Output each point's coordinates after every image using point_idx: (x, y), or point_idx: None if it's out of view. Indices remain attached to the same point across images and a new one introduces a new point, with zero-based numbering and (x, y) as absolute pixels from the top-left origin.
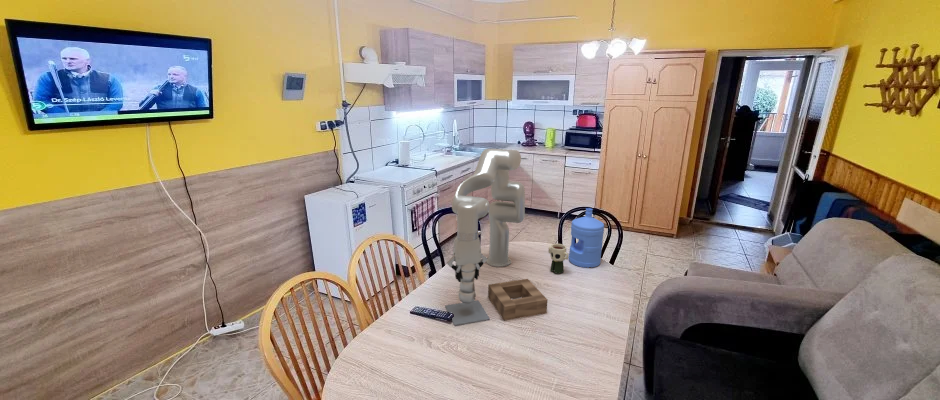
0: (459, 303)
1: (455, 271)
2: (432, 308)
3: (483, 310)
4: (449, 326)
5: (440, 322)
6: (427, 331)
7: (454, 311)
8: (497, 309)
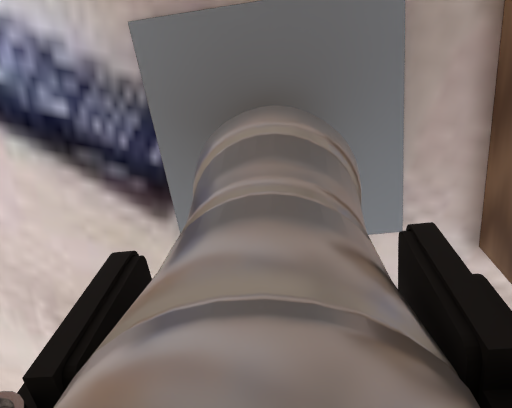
0: (240, 9)
1: (19, 392)
2: (39, 29)
3: (394, 138)
4: (159, 243)
5: (108, 200)
6: (47, 262)
7: (193, 118)
8: (495, 145)
